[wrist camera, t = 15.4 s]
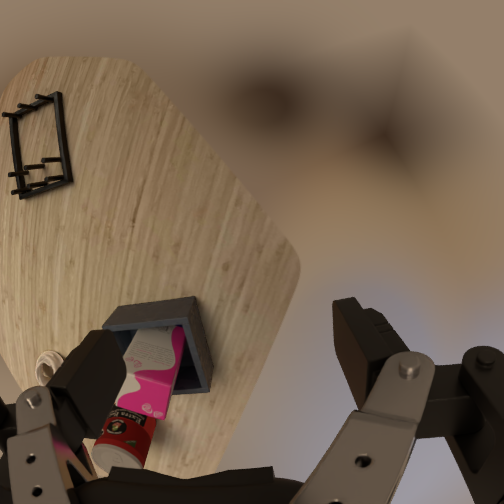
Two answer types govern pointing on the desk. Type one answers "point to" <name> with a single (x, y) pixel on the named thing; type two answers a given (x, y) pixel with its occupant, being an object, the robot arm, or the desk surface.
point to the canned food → (124, 440)
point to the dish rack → (63, 158)
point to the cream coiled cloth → (51, 360)
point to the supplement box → (152, 370)
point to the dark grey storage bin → (166, 314)
